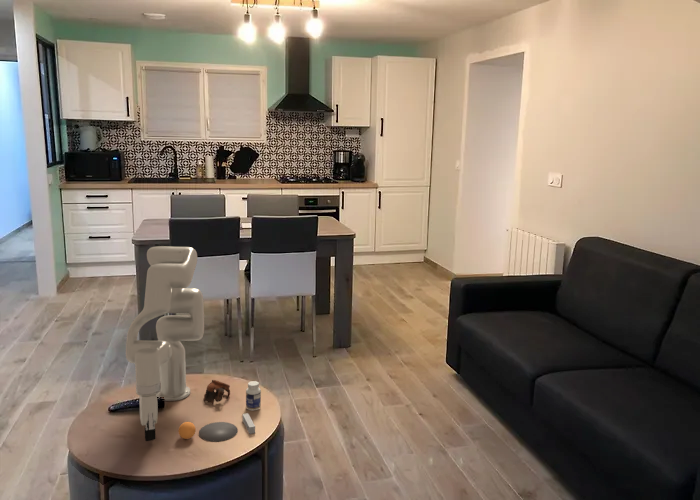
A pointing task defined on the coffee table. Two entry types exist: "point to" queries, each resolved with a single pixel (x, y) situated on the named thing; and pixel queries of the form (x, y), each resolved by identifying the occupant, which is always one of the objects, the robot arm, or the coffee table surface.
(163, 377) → the robot arm
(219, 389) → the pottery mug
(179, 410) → the coffee table surface
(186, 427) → the ball
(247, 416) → the bar
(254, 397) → the pill bottle
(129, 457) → the coffee table surface
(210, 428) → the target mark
